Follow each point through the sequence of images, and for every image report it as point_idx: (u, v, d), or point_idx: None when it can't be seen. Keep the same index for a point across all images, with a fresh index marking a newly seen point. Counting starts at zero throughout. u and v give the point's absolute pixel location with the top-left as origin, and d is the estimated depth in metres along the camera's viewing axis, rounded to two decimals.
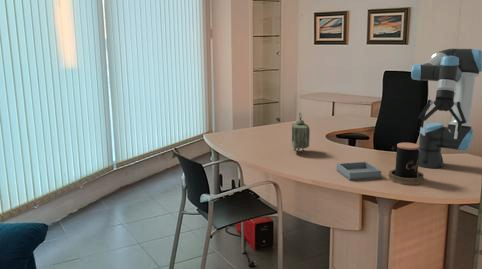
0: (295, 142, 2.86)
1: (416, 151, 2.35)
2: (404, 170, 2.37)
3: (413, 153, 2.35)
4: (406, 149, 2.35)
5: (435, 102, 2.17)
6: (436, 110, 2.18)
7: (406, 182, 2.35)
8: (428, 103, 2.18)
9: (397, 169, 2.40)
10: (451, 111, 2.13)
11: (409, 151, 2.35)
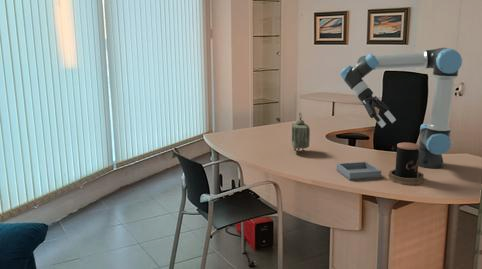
0: (295, 142, 2.86)
1: (416, 151, 2.35)
2: (404, 170, 2.37)
3: (413, 153, 2.35)
4: (406, 149, 2.35)
5: None
6: (377, 103, 2.48)
7: (406, 182, 2.35)
8: None
9: (397, 169, 2.40)
10: None
11: (409, 151, 2.35)
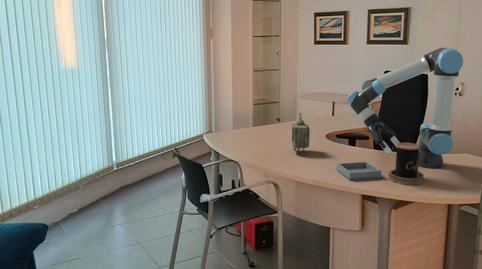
0: (295, 142, 2.86)
1: (416, 151, 2.35)
2: (404, 170, 2.37)
3: (413, 153, 2.35)
4: (406, 149, 2.35)
5: None
6: (383, 129, 2.48)
7: (406, 182, 2.35)
8: None
9: (397, 169, 2.40)
10: None
11: (409, 151, 2.35)
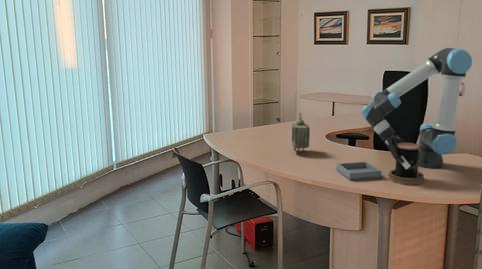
0: (295, 142, 2.86)
1: (416, 151, 2.35)
2: (404, 170, 2.37)
3: (413, 153, 2.35)
4: (406, 149, 2.35)
5: None
6: None
7: (406, 182, 2.35)
8: None
9: (397, 169, 2.40)
10: None
11: (409, 151, 2.35)
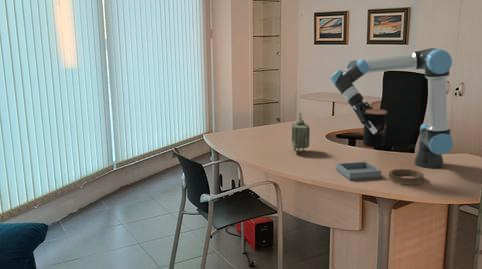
0: (295, 142, 2.86)
1: (383, 116, 2.37)
2: (371, 135, 2.39)
3: (380, 118, 2.36)
4: (373, 114, 2.36)
5: None
6: None
7: (406, 182, 2.35)
8: None
9: (365, 134, 2.42)
10: None
11: (376, 116, 2.36)
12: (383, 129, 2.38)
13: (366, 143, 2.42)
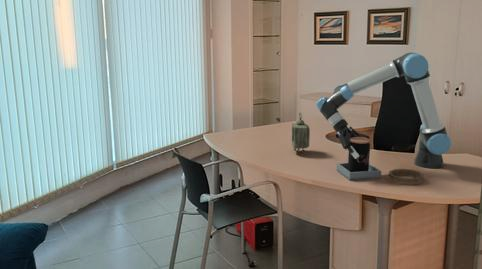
0: (295, 142, 2.86)
1: (367, 145, 2.44)
2: (355, 163, 2.46)
3: (363, 147, 2.43)
4: (357, 143, 2.43)
5: None
6: (352, 134, 2.53)
7: (406, 182, 2.35)
8: None
9: (349, 162, 2.49)
10: None
11: (360, 145, 2.43)
12: (367, 157, 2.45)
13: (350, 171, 2.48)
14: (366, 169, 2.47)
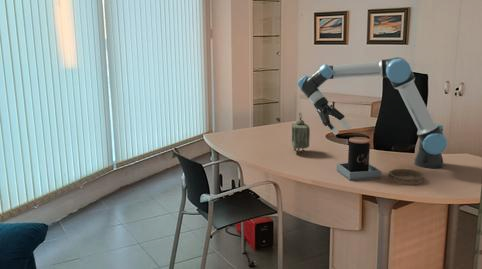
0: (295, 142, 2.86)
1: (366, 145, 2.44)
2: (355, 163, 2.46)
3: (363, 147, 2.43)
4: (357, 143, 2.43)
5: None
6: (332, 112, 2.59)
7: (406, 182, 2.35)
8: None
9: (349, 162, 2.49)
10: None
11: (359, 145, 2.43)
12: (366, 157, 2.45)
13: (350, 171, 2.48)
14: (366, 169, 2.47)
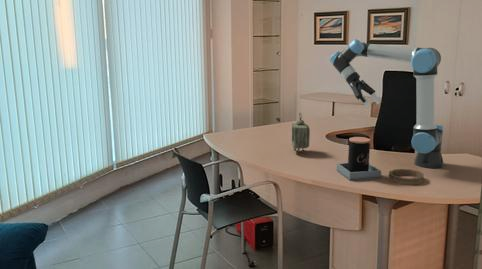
0: (295, 142, 2.86)
1: (366, 145, 2.44)
2: (355, 163, 2.46)
3: (363, 147, 2.43)
4: (357, 143, 2.43)
5: None
6: (364, 86, 2.67)
7: (406, 182, 2.35)
8: None
9: (349, 162, 2.49)
10: None
11: (360, 145, 2.43)
12: (367, 157, 2.45)
13: (350, 171, 2.48)
14: (366, 169, 2.47)
